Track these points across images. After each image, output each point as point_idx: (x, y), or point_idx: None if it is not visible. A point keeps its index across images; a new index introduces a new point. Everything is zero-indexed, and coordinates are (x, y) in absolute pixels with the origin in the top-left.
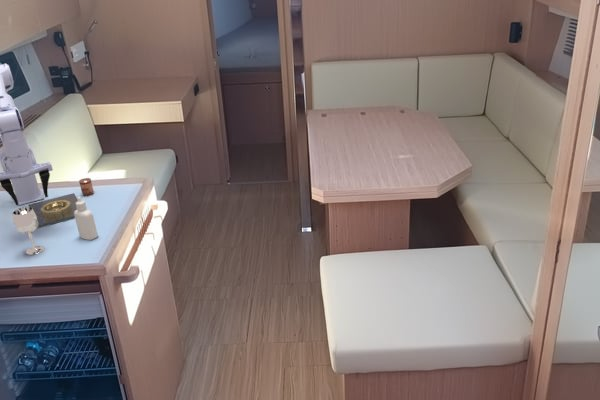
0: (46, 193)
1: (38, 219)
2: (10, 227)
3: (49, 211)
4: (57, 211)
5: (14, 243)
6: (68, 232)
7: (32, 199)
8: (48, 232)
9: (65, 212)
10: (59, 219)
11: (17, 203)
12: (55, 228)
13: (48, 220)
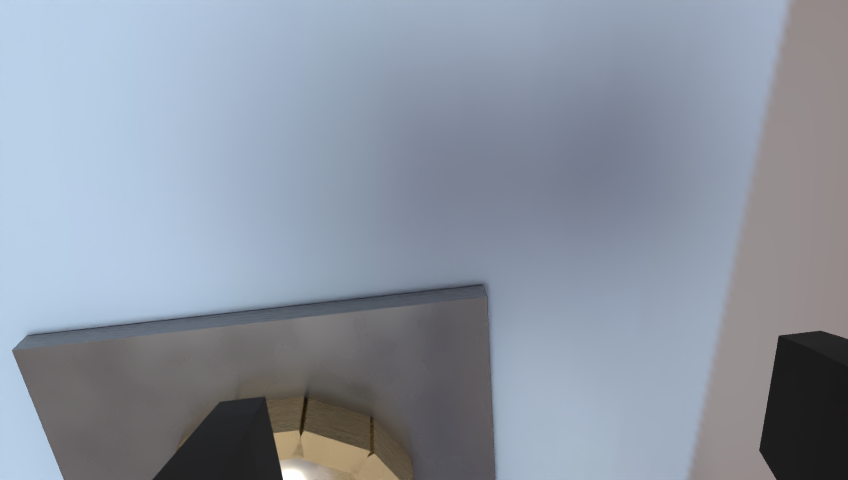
0: (194, 447)
1: (451, 415)
2: (666, 410)
3: (343, 462)
4: None
5: (696, 74)
6: (174, 16)
7: None
8: (380, 140)
9: None
10: (266, 326)
11: (814, 341)
12: (313, 195)
13: (368, 353)
